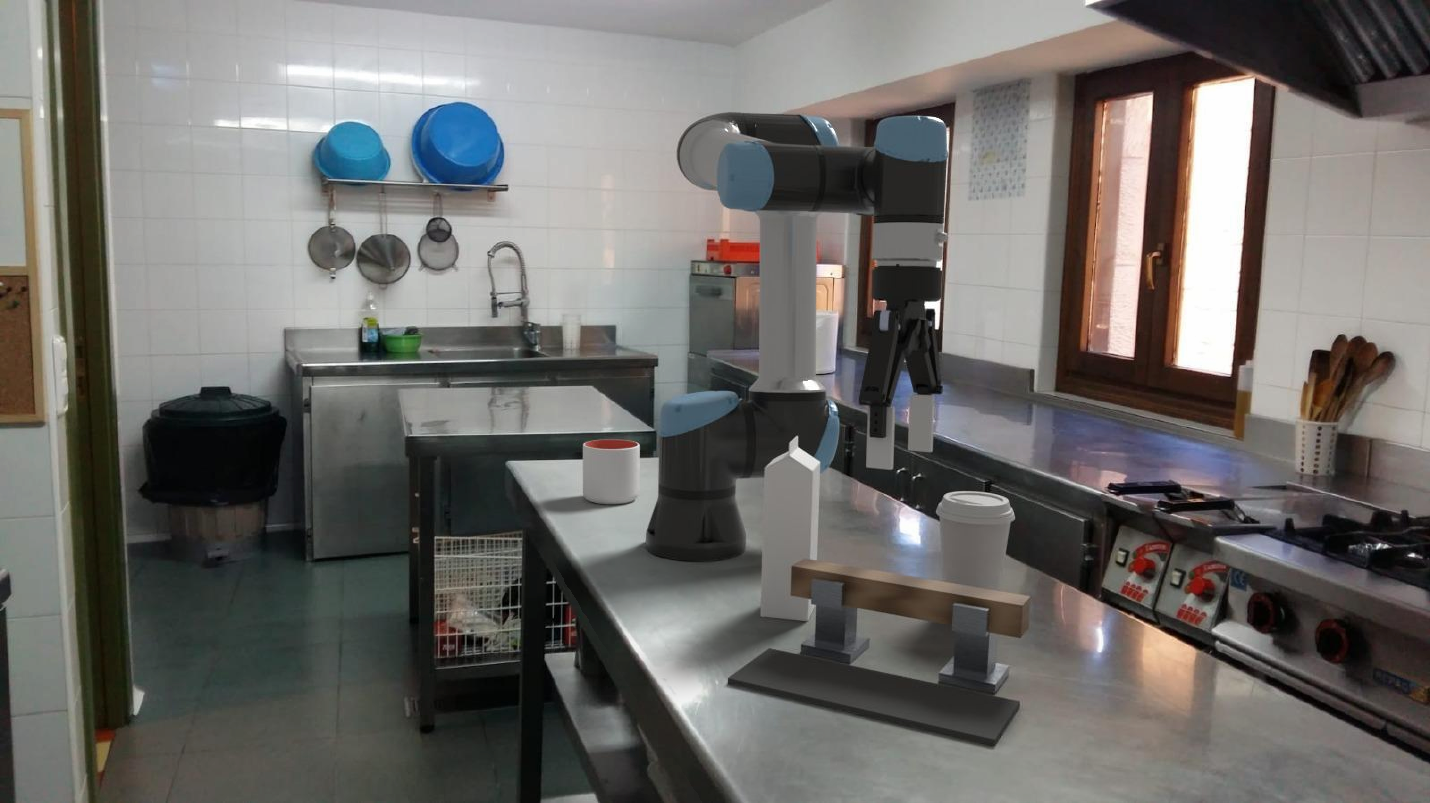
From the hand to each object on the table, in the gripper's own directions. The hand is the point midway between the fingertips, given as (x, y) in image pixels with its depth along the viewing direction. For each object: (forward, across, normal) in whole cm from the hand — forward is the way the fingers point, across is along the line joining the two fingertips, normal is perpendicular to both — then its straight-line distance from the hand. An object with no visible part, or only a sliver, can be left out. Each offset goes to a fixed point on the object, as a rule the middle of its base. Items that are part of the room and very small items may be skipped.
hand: (900, 459), depth 121 cm
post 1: (+22, -1, +7) cm, 23 cm away
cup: (+20, +46, +69) cm, 85 cm away
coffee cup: (+22, +19, -3) cm, 29 cm away
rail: (+17, -1, -2) cm, 17 cm away
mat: (+23, -11, -1) cm, 25 cm away
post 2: (+23, -1, -9) cm, 25 cm away
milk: (+22, +8, +17) cm, 29 cm away
